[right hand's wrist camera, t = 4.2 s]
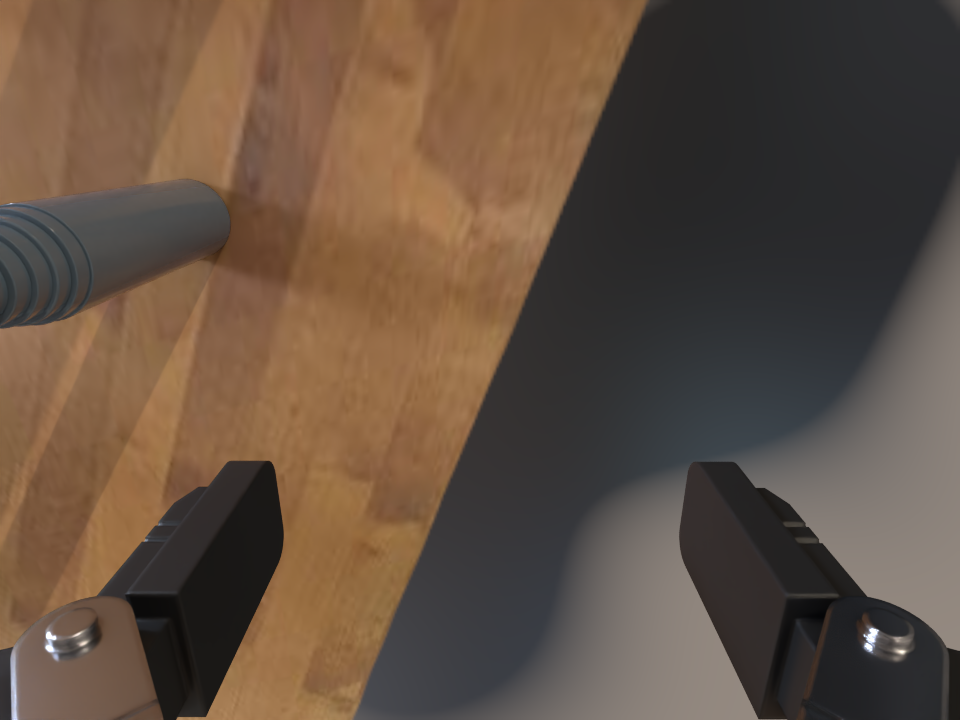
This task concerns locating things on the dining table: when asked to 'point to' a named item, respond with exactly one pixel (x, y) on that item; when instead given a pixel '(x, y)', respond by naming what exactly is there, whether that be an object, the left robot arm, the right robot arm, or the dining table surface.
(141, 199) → the bottle
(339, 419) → the dining table surface
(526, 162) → the dining table surface
